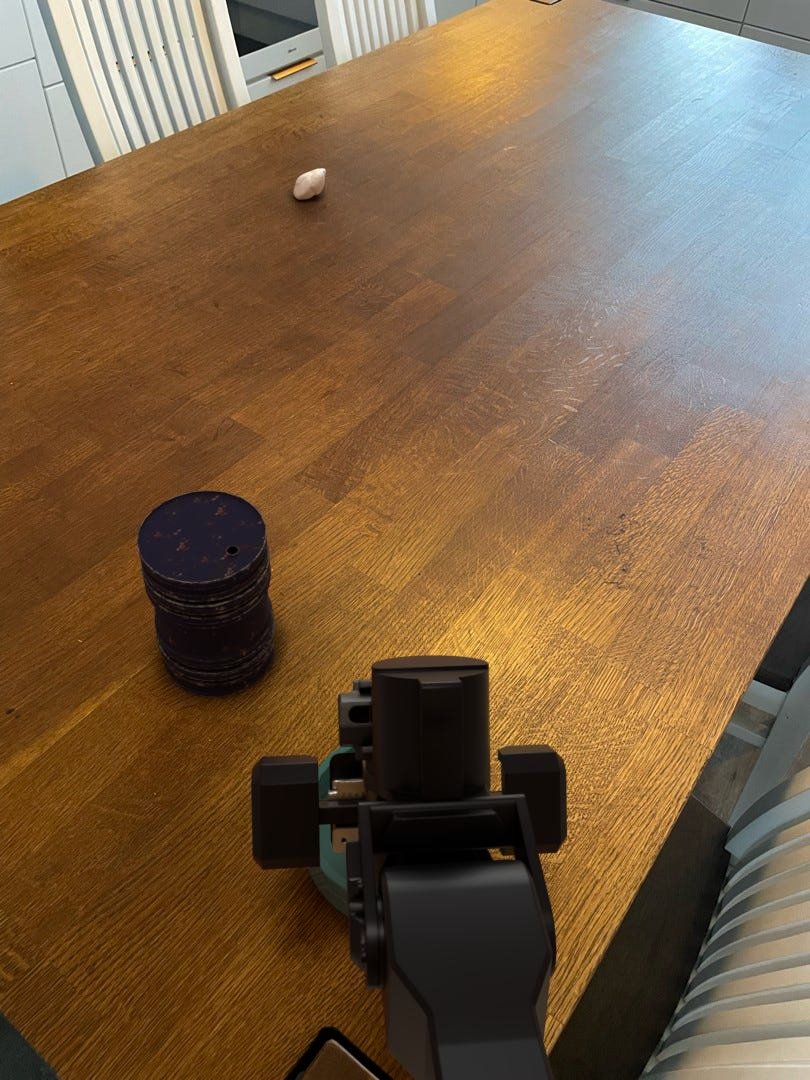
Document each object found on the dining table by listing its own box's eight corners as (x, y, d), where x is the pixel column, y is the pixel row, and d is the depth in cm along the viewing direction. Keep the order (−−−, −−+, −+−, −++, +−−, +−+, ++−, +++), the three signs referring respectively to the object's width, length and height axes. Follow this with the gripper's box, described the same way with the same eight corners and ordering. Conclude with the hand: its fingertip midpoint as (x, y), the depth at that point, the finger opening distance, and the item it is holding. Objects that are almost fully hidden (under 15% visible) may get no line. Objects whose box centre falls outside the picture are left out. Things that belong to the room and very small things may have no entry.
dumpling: (324, 207, 136) (318, 184, 132) (292, 209, 137) (285, 186, 134) (333, 179, 139) (327, 156, 136) (302, 181, 141) (295, 158, 137)
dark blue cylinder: (137, 663, 77) (106, 546, 66) (211, 591, 83) (193, 472, 72) (229, 718, 74) (212, 605, 63) (298, 638, 80) (294, 522, 69)
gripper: (597, 688, 47) (526, 647, 63) (240, 702, 45) (258, 655, 61) (600, 897, 47) (528, 804, 63) (245, 919, 45) (261, 818, 61)
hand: (396, 767), depth 62 cm, fingers closed on fennel bulb, 2 cm apart
